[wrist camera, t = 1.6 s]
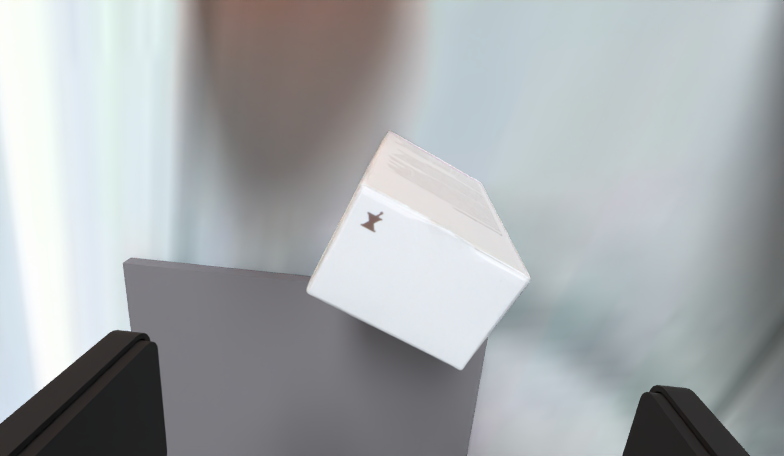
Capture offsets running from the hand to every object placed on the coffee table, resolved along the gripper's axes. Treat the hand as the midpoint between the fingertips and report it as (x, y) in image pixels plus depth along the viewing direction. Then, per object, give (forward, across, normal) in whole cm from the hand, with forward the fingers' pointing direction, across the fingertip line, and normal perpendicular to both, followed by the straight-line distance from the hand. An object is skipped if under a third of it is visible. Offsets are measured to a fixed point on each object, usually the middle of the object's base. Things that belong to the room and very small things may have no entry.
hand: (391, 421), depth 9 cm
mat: (+18, +5, +14) cm, 24 cm away
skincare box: (+18, -1, 0) cm, 18 cm away
